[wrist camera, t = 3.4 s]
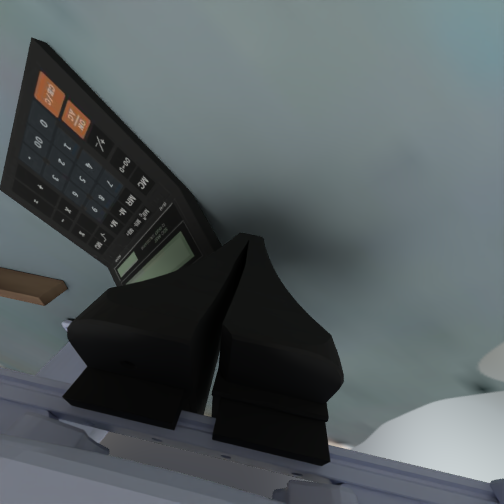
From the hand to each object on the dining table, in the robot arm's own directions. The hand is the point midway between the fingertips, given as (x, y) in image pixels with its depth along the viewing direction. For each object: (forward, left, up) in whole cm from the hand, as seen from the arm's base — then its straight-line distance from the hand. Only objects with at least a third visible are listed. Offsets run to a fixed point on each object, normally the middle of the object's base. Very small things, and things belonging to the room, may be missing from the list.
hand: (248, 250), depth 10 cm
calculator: (0, +8, -2) cm, 9 cm away
